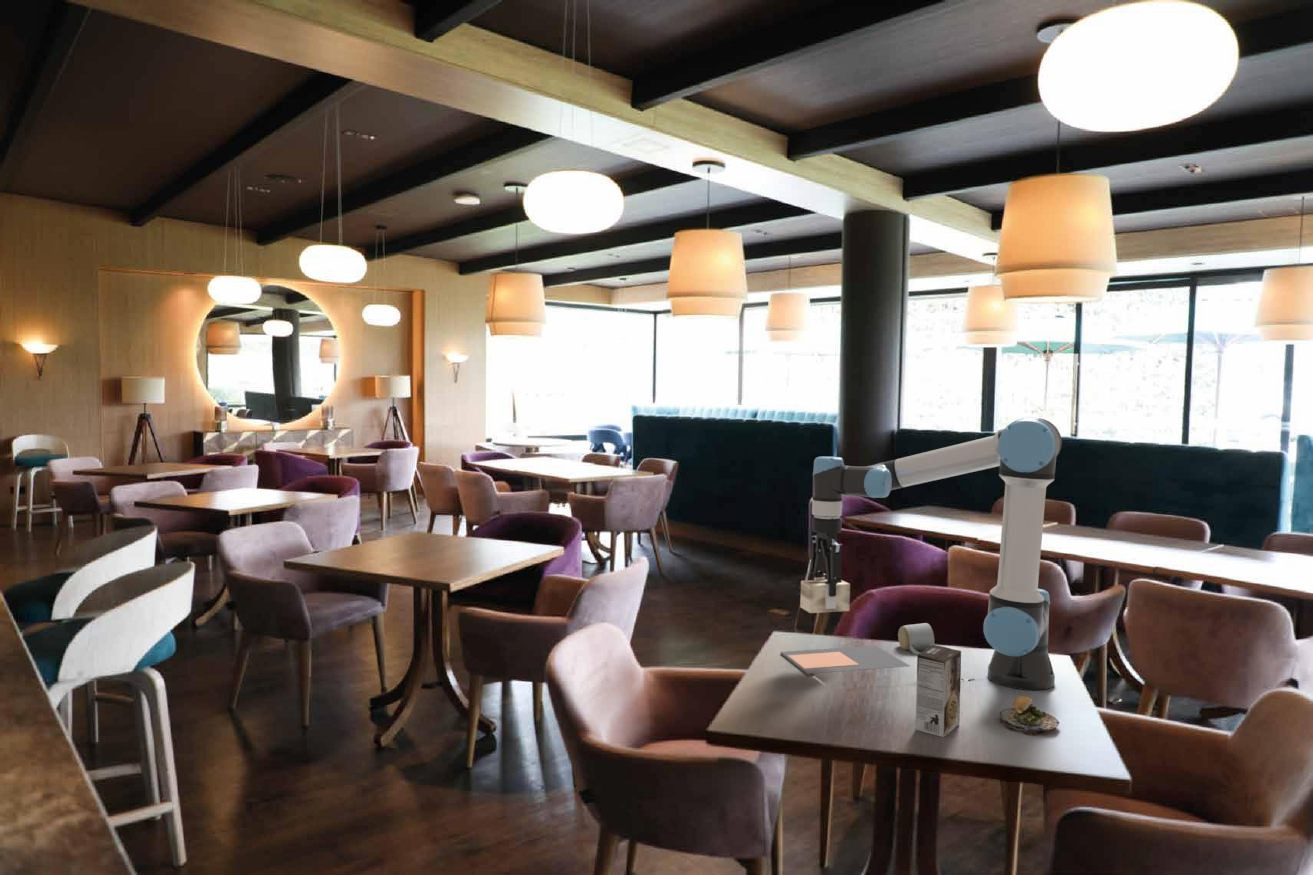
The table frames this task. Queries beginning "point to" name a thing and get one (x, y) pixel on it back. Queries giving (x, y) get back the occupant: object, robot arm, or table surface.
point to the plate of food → (1026, 718)
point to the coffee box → (938, 690)
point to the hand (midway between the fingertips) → (824, 604)
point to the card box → (823, 596)
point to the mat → (842, 659)
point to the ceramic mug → (916, 637)
